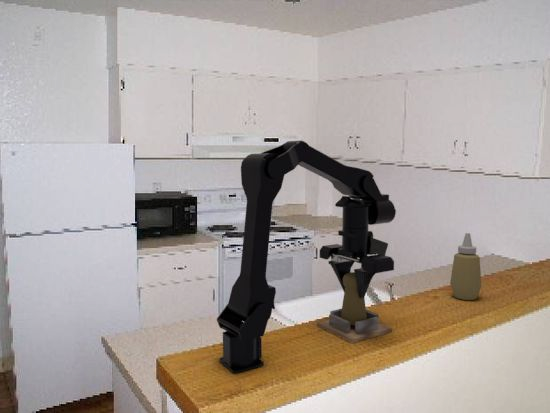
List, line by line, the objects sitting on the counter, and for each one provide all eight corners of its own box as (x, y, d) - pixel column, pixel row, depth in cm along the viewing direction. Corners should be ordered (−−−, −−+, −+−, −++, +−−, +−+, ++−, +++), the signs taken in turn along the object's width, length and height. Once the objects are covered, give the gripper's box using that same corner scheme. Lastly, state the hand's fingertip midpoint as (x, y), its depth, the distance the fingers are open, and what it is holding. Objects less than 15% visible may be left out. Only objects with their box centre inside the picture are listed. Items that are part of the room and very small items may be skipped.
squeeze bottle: (471, 304, 122) (474, 237, 120) (443, 297, 129) (446, 233, 127) (486, 298, 127) (489, 233, 126) (459, 291, 134) (461, 230, 132)
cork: (334, 320, 105) (335, 272, 104) (352, 314, 109) (352, 268, 108) (355, 327, 100) (356, 278, 99) (372, 321, 104) (373, 273, 103)
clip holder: (351, 343, 97) (351, 328, 96) (316, 325, 107) (316, 312, 106) (392, 331, 103) (392, 317, 103) (355, 316, 113) (355, 303, 113)
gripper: (413, 229, 99) (410, 299, 100) (354, 219, 115) (352, 280, 116) (375, 233, 93) (373, 308, 95) (318, 222, 109) (317, 287, 110)
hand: (354, 295), depth 104 cm, fingers closed on cork, 5 cm apart
